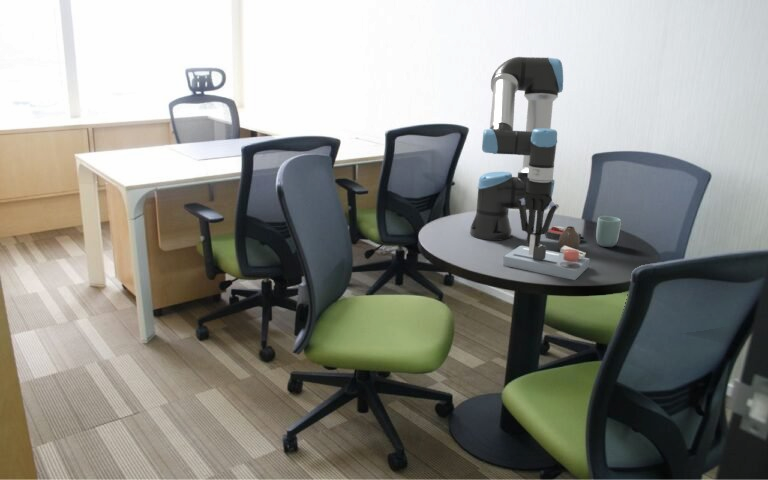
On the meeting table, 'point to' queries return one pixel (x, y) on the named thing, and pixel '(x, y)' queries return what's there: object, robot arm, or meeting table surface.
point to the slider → (539, 252)
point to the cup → (607, 231)
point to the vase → (569, 238)
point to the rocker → (581, 254)
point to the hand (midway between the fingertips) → (532, 253)
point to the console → (546, 263)
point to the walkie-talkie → (557, 233)
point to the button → (571, 255)
